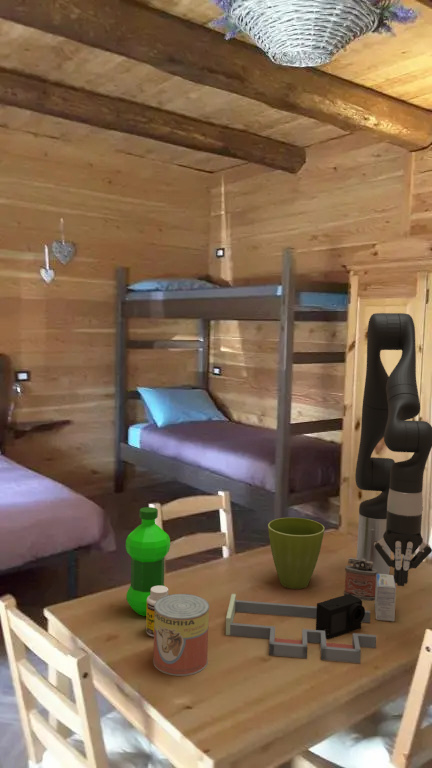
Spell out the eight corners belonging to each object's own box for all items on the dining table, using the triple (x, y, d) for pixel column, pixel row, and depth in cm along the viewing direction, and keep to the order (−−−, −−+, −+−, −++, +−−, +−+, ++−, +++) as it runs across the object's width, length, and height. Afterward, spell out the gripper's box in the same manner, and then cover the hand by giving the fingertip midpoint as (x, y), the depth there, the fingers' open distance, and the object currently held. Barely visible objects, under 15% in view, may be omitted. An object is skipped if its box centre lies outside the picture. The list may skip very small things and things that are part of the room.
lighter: (376, 596, 169) (378, 559, 168) (375, 601, 166) (377, 564, 165) (344, 591, 172) (346, 554, 171) (343, 596, 168) (344, 559, 167)
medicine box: (394, 622, 155) (396, 587, 154) (375, 620, 156) (377, 585, 155) (392, 608, 163) (394, 574, 162) (374, 606, 164) (375, 572, 163)
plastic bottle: (140, 598, 164) (142, 501, 161) (176, 608, 159) (178, 508, 156) (116, 613, 155) (117, 511, 153) (153, 624, 150) (155, 519, 148)
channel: (231, 609, 159) (231, 593, 159) (369, 620, 155) (370, 604, 155) (221, 650, 139) (222, 632, 139) (379, 665, 136) (380, 646, 135)
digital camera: (331, 642, 145) (333, 612, 144) (315, 632, 149) (316, 602, 148) (364, 630, 150) (366, 601, 150) (347, 621, 155) (349, 593, 154)
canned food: (143, 667, 132) (143, 610, 131) (169, 642, 142) (170, 589, 141) (193, 681, 128) (194, 622, 126) (216, 654, 138) (218, 600, 137)
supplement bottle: (142, 636, 145) (142, 591, 144) (151, 625, 150) (152, 582, 149) (165, 640, 143) (166, 595, 142) (174, 629, 149) (175, 585, 147)
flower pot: (293, 600, 165) (296, 539, 164) (254, 581, 177) (256, 523, 175) (333, 586, 175) (336, 528, 173) (293, 568, 186) (295, 514, 184)
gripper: (431, 506, 148) (427, 580, 150) (372, 503, 150) (368, 576, 151) (438, 516, 141) (434, 593, 142) (376, 512, 142) (372, 589, 144)
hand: (400, 584), depth 147 cm, fingers closed
